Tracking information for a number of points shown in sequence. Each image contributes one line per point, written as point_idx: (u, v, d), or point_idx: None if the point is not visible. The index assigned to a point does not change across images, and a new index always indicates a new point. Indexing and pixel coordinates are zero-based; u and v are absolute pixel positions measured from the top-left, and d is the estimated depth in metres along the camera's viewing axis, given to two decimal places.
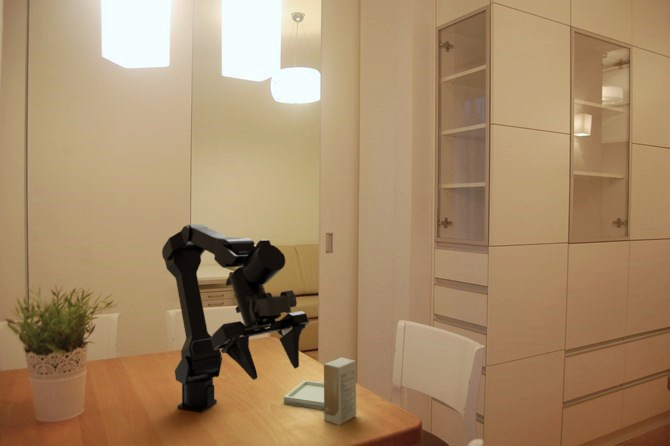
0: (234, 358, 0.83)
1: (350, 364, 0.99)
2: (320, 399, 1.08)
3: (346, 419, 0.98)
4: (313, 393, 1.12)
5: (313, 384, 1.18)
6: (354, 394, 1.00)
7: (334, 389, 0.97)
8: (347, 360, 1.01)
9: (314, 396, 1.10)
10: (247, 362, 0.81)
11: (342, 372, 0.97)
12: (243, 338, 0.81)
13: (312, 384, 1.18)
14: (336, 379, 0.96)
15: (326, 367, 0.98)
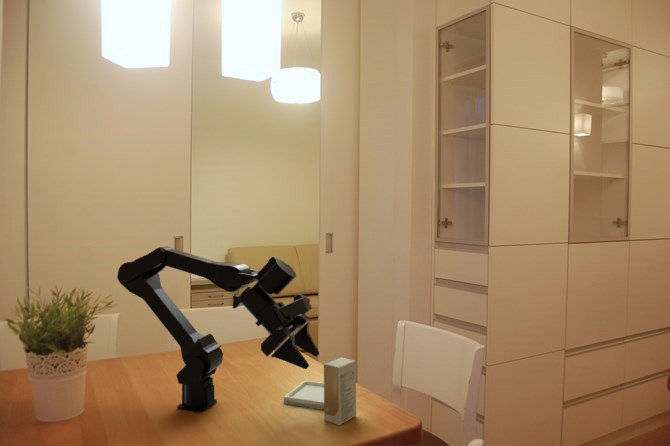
0: (283, 358, 0.96)
1: (350, 364, 0.99)
2: (320, 399, 1.08)
3: (346, 419, 0.98)
4: (313, 393, 1.12)
5: (313, 384, 1.18)
6: (354, 394, 1.00)
7: (334, 389, 0.97)
8: (347, 360, 1.01)
9: (314, 396, 1.10)
10: (299, 356, 0.96)
11: (342, 372, 0.97)
12: (292, 336, 0.95)
13: (312, 384, 1.18)
14: (336, 379, 0.96)
15: (326, 367, 0.98)
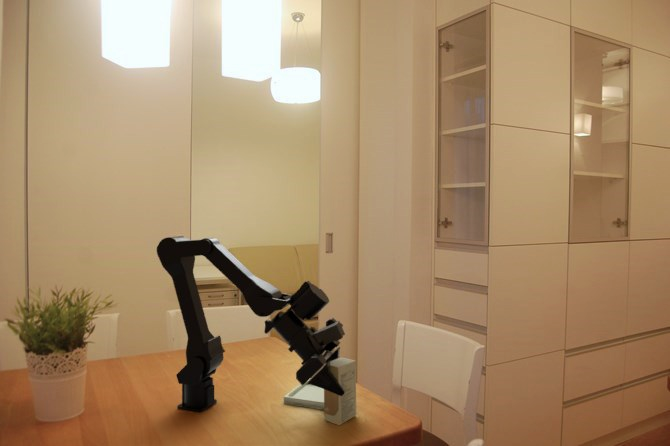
0: (319, 385, 0.95)
1: (350, 364, 0.99)
2: (320, 399, 1.08)
3: (346, 419, 0.98)
4: (313, 393, 1.12)
5: None
6: (354, 394, 1.00)
7: None
8: (347, 360, 1.01)
9: (314, 396, 1.10)
10: (335, 382, 0.95)
11: (342, 372, 0.97)
12: (328, 363, 0.95)
13: None
14: (336, 379, 0.96)
15: None
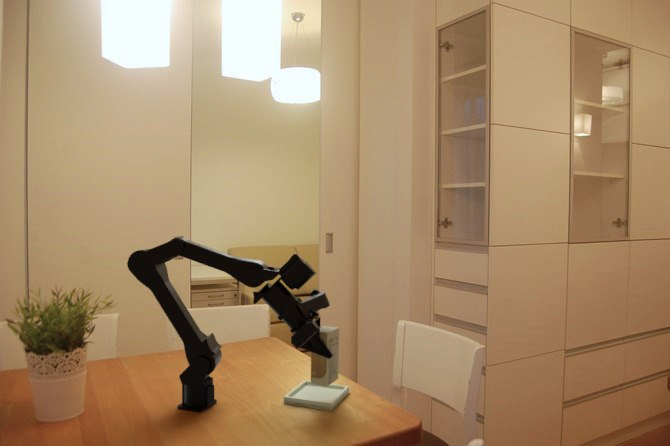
0: (309, 349, 1.02)
1: (335, 330, 1.07)
2: (320, 399, 1.08)
3: (331, 381, 1.06)
4: (313, 393, 1.12)
5: (313, 384, 1.18)
6: (337, 359, 1.08)
7: None
8: (331, 327, 1.08)
9: (314, 396, 1.10)
10: (324, 346, 1.02)
11: (329, 337, 1.05)
12: (319, 328, 1.02)
13: (312, 384, 1.18)
14: None
15: None
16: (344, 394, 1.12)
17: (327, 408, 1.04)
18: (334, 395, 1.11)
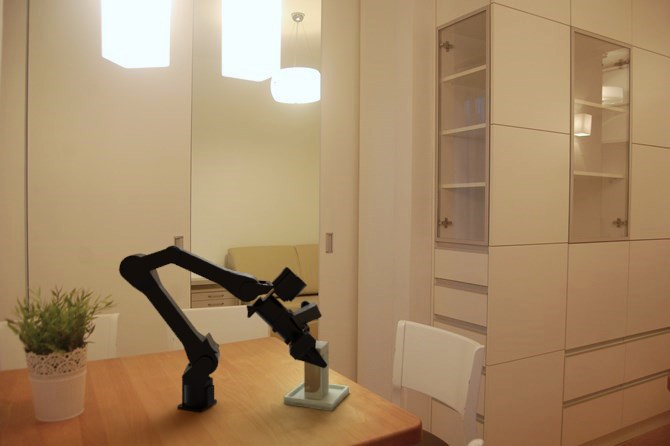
0: (306, 360, 1.05)
1: (326, 345, 1.11)
2: None
3: (324, 394, 1.10)
4: None
5: None
6: (328, 372, 1.13)
7: (316, 368, 1.08)
8: (321, 342, 1.13)
9: None
10: (320, 356, 1.06)
11: (322, 352, 1.09)
12: None
13: None
14: None
15: None
16: (344, 394, 1.12)
17: (327, 408, 1.04)
18: (334, 395, 1.11)
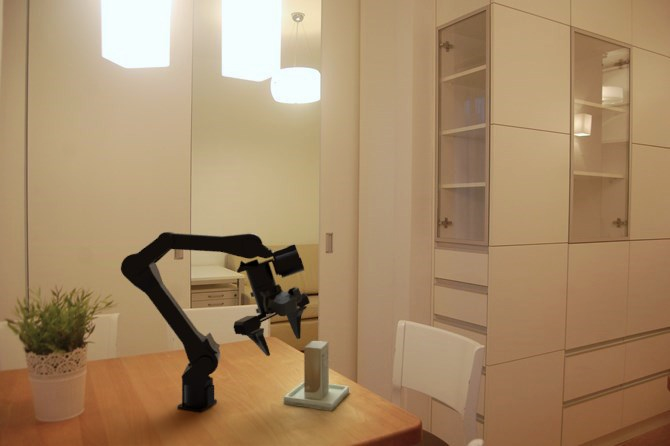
0: (251, 338, 1.07)
1: (326, 345, 1.11)
2: None
3: (324, 394, 1.10)
4: None
5: None
6: (328, 372, 1.13)
7: (316, 368, 1.08)
8: (321, 342, 1.13)
9: None
10: (262, 345, 1.05)
11: (322, 352, 1.09)
12: (259, 331, 1.03)
13: None
14: (318, 359, 1.08)
15: (307, 350, 1.09)
16: (344, 394, 1.12)
17: (327, 408, 1.04)
18: (334, 395, 1.11)
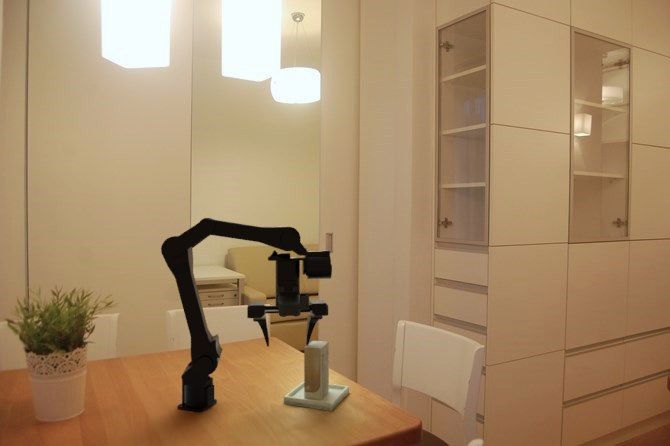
0: None
1: (326, 345, 1.11)
2: None
3: (324, 394, 1.10)
4: None
5: None
6: (328, 372, 1.13)
7: (316, 368, 1.08)
8: (321, 342, 1.13)
9: None
10: (263, 334, 1.08)
11: (322, 352, 1.09)
12: (261, 320, 1.06)
13: None
14: (318, 359, 1.08)
15: (307, 350, 1.09)
16: (344, 394, 1.12)
17: (327, 408, 1.04)
18: (334, 395, 1.11)
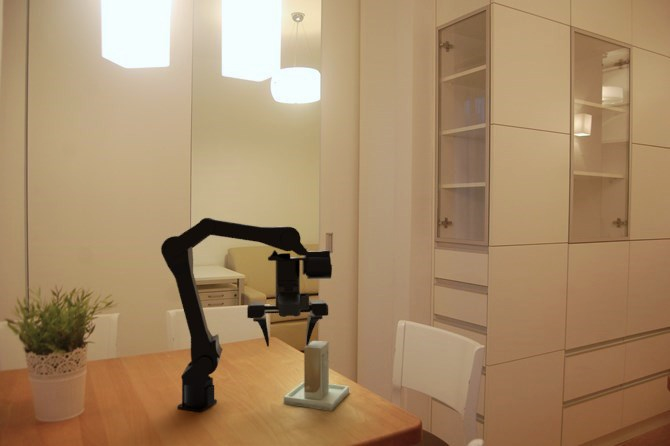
0: None
1: (326, 345, 1.11)
2: None
3: (324, 394, 1.10)
4: None
5: None
6: (328, 372, 1.13)
7: (316, 368, 1.08)
8: (321, 342, 1.13)
9: None
10: (263, 334, 1.08)
11: (322, 352, 1.09)
12: (261, 320, 1.06)
13: None
14: (318, 359, 1.08)
15: (307, 350, 1.09)
16: (344, 394, 1.12)
17: (327, 408, 1.04)
18: (334, 395, 1.11)
